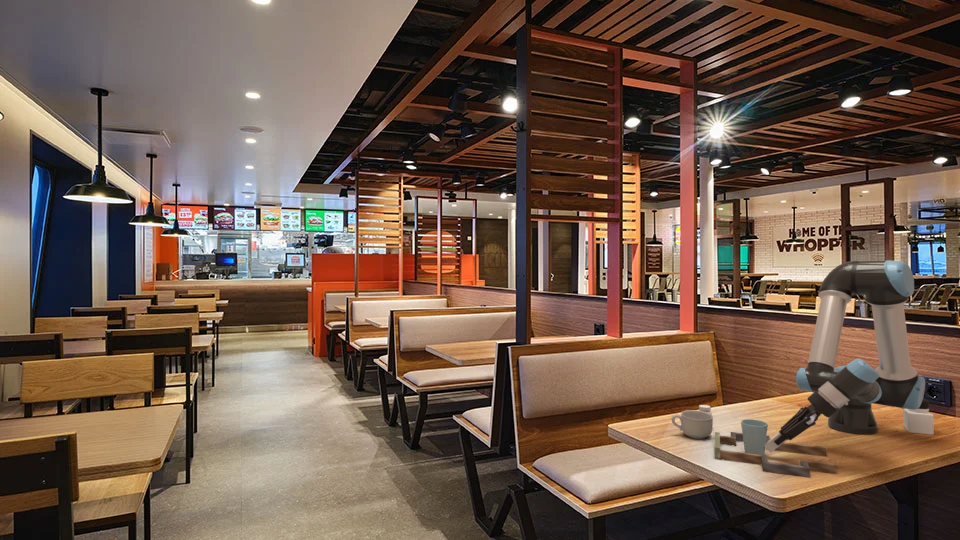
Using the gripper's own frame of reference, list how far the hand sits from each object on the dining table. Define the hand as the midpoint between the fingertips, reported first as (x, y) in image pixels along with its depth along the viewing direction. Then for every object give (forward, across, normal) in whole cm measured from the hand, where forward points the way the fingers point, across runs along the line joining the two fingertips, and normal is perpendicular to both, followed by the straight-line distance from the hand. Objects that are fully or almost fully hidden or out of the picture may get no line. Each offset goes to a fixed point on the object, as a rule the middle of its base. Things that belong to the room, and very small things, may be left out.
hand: (767, 448), depth 167 cm
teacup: (+18, +14, +14) cm, 27 cm away
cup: (+5, +1, 0) cm, 5 cm away
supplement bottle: (+15, +26, +11) cm, 32 cm away
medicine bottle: (-35, +50, -40) cm, 73 cm away
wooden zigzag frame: (+1, +1, -3) cm, 3 cm away
